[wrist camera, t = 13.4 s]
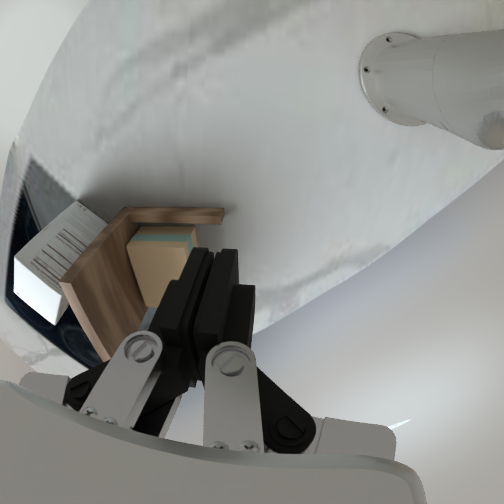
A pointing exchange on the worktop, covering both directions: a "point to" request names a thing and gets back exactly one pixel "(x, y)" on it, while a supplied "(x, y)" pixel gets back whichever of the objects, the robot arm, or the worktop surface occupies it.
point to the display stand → (118, 275)
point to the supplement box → (54, 259)
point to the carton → (159, 258)
